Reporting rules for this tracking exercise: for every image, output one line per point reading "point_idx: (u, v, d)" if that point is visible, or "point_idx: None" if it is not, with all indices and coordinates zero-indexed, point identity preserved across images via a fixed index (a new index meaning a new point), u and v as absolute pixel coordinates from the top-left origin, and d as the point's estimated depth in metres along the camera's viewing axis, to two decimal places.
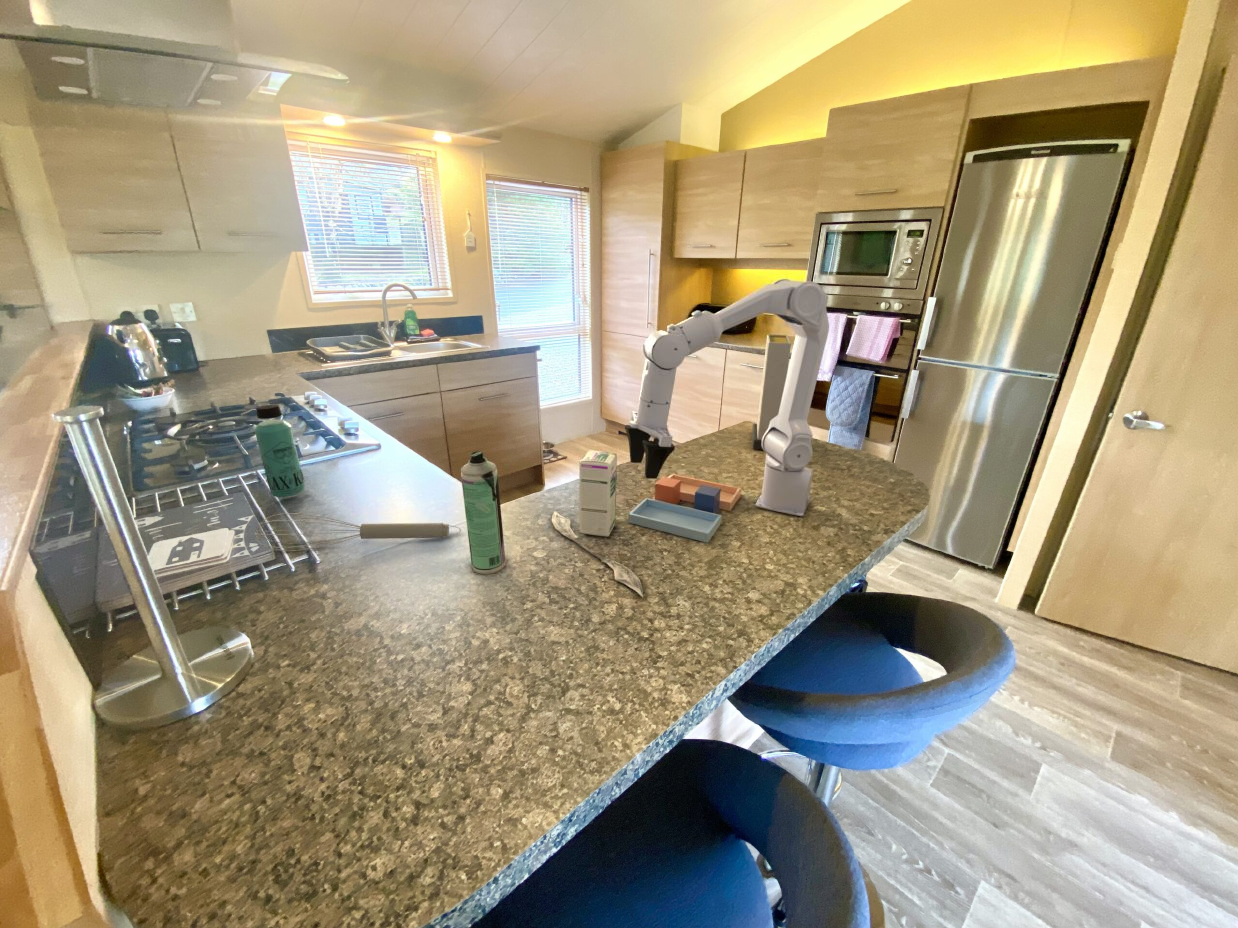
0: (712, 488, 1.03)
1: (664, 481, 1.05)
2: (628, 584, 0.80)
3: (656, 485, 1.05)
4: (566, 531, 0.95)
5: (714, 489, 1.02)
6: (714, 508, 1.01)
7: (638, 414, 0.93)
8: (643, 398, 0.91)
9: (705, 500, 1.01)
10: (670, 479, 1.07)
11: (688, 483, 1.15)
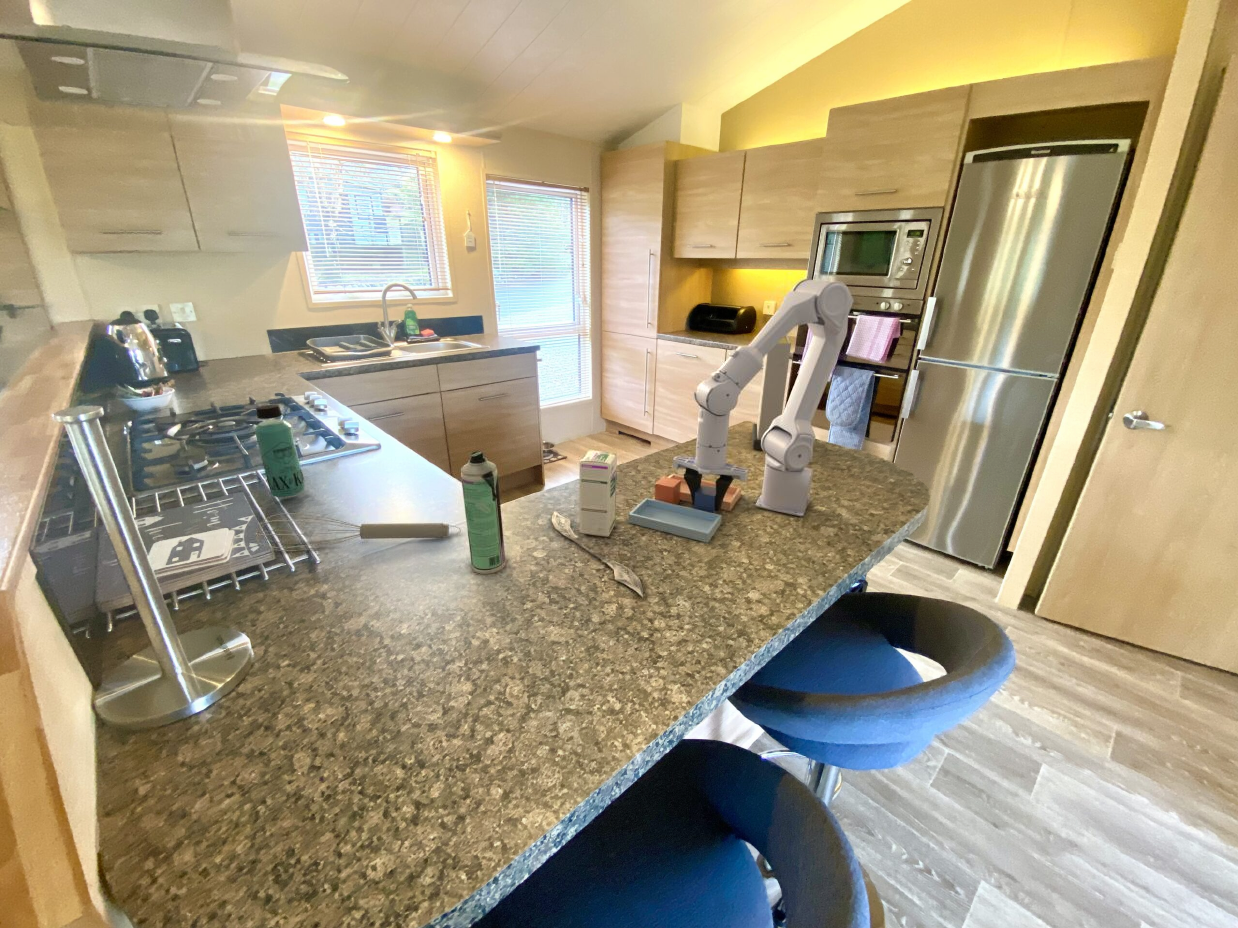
0: (712, 488, 1.03)
1: (664, 481, 1.05)
2: (628, 584, 0.80)
3: (656, 485, 1.05)
4: (566, 531, 0.95)
5: (715, 490, 1.02)
6: (714, 508, 1.01)
7: (706, 461, 0.97)
8: (701, 443, 0.96)
9: (705, 500, 1.01)
10: (670, 479, 1.07)
11: None
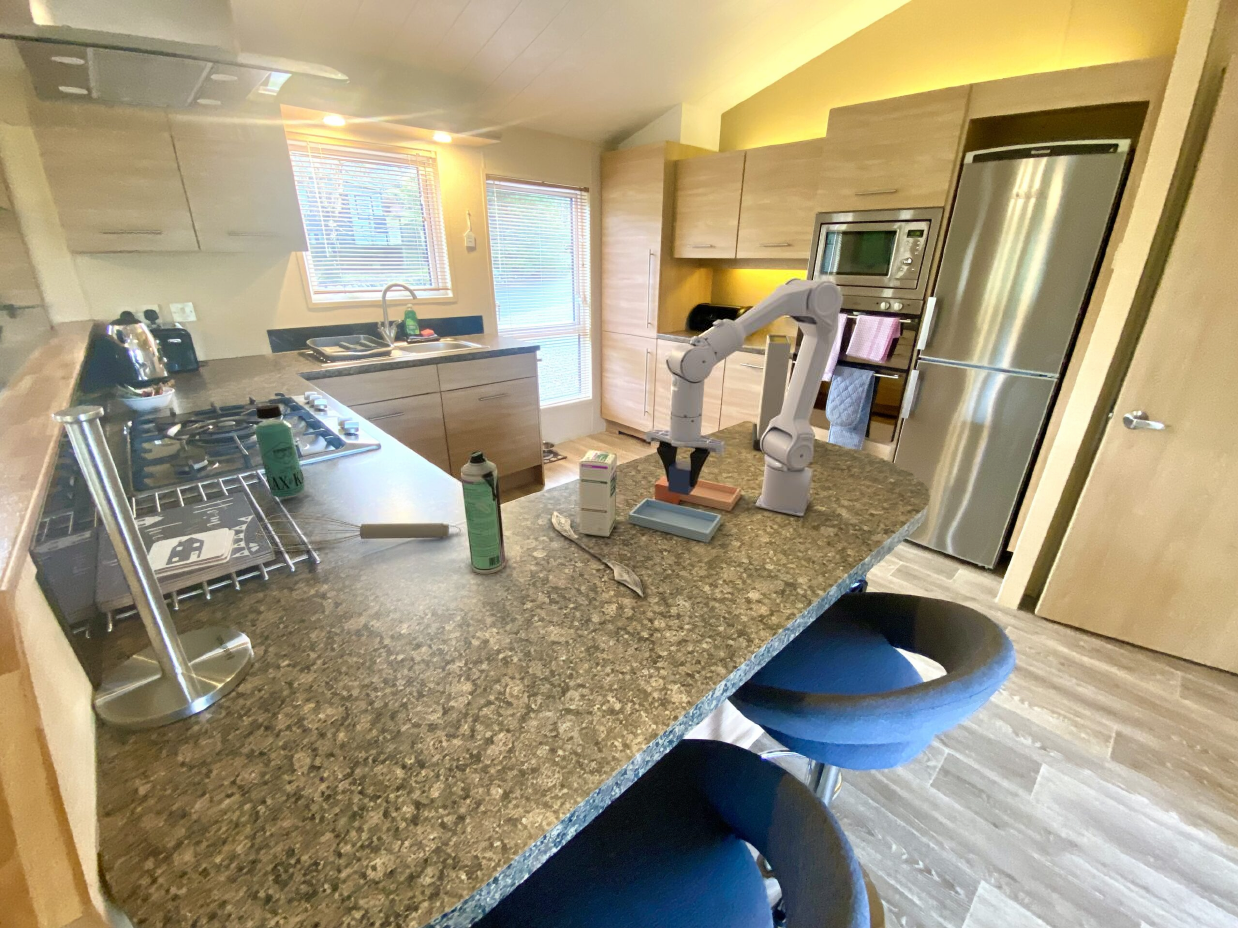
0: (688, 463, 0.97)
1: (664, 481, 1.05)
2: (628, 584, 0.80)
3: (656, 485, 1.05)
4: (566, 531, 0.95)
5: (690, 464, 0.96)
6: (689, 484, 0.95)
7: (679, 432, 0.91)
8: (676, 414, 0.90)
9: (679, 475, 0.94)
10: None
11: None
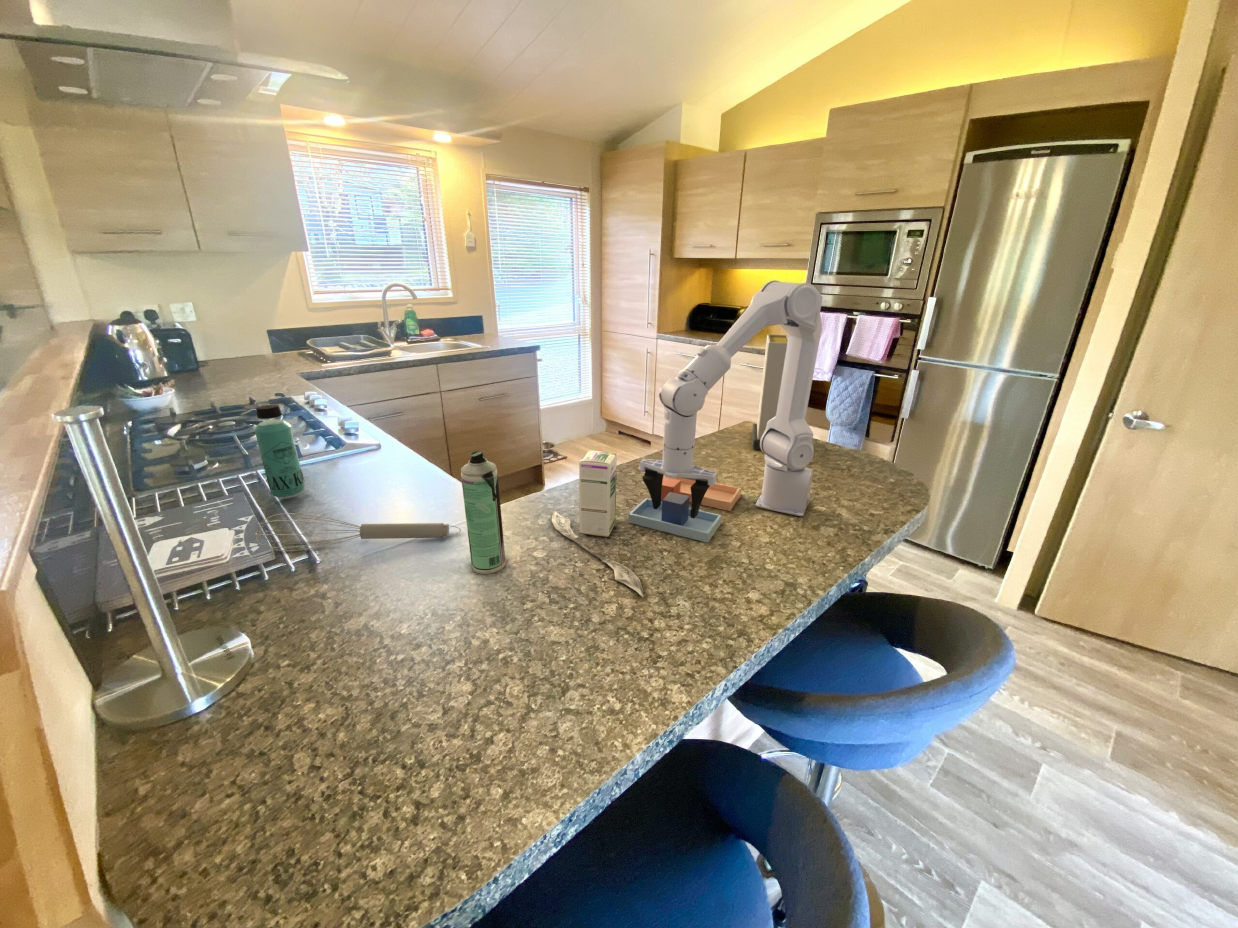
0: (680, 496, 0.98)
1: (664, 481, 1.05)
2: (628, 584, 0.80)
3: None
4: (566, 531, 0.95)
5: (683, 497, 0.98)
6: (682, 517, 0.97)
7: (672, 464, 0.92)
8: (668, 446, 0.91)
9: (672, 508, 0.96)
10: (670, 479, 1.07)
11: (688, 483, 1.15)
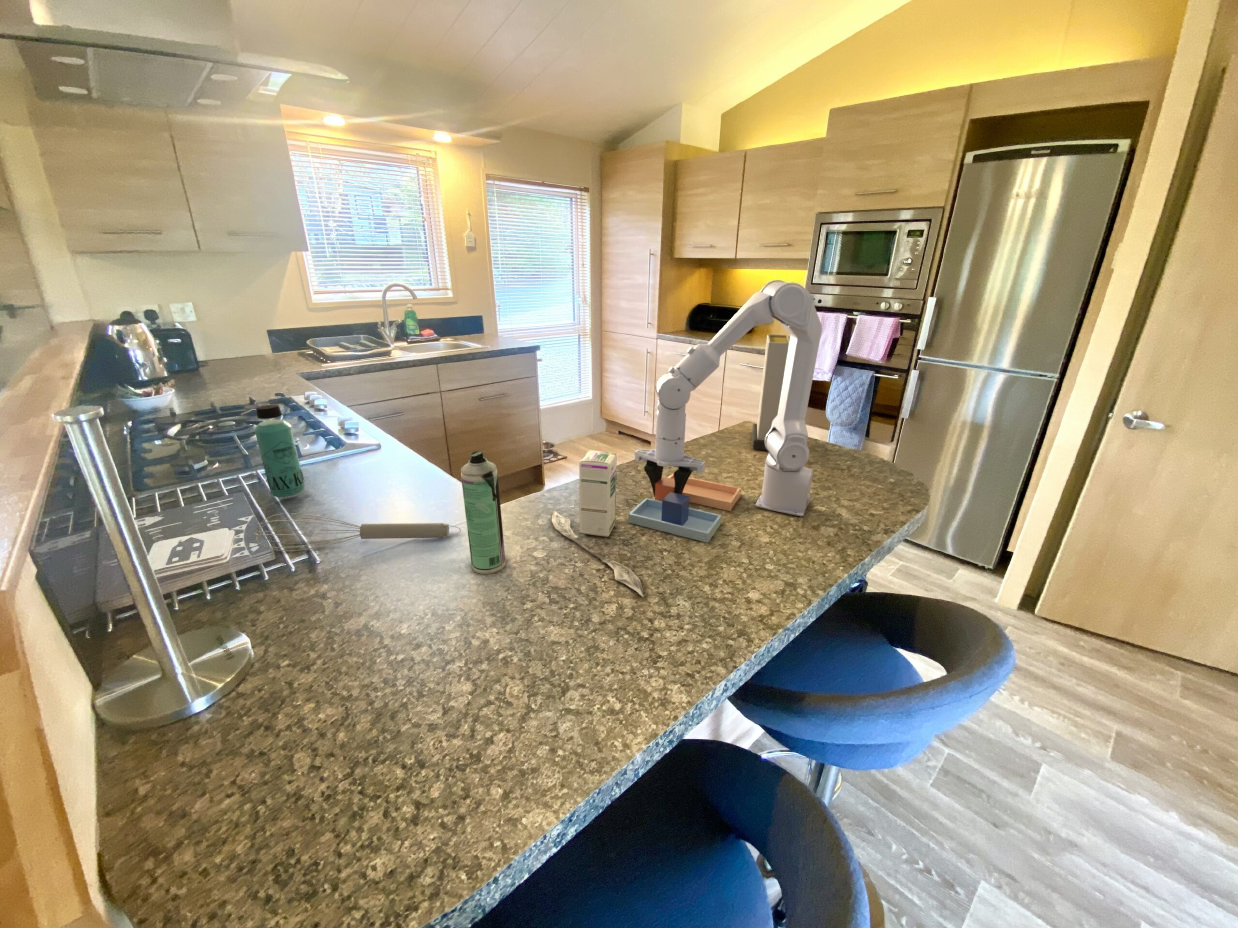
0: (680, 496, 0.98)
1: (664, 481, 1.05)
2: (628, 584, 0.80)
3: (656, 485, 1.05)
4: (566, 531, 0.95)
5: (683, 497, 0.98)
6: (682, 517, 0.97)
7: (664, 453, 1.00)
8: (657, 435, 1.00)
9: (672, 508, 0.96)
10: (670, 479, 1.07)
11: (688, 483, 1.15)
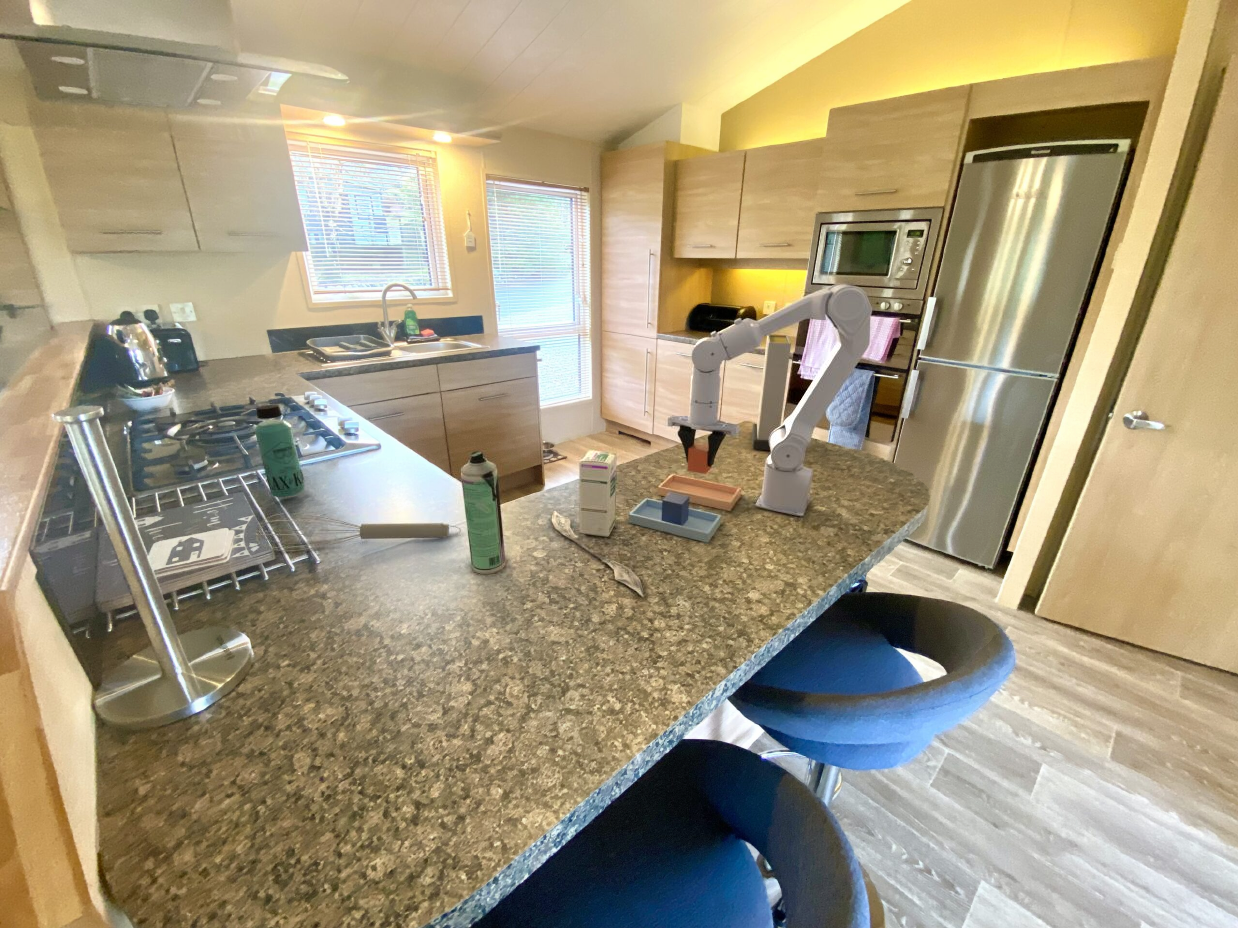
0: (680, 496, 0.98)
1: (697, 446, 1.07)
2: (628, 584, 0.80)
3: (689, 450, 1.06)
4: (566, 531, 0.95)
5: (683, 497, 0.98)
6: (682, 517, 0.97)
7: (699, 417, 1.02)
8: (690, 398, 1.02)
9: (672, 508, 0.96)
10: (703, 444, 1.08)
11: (688, 483, 1.15)
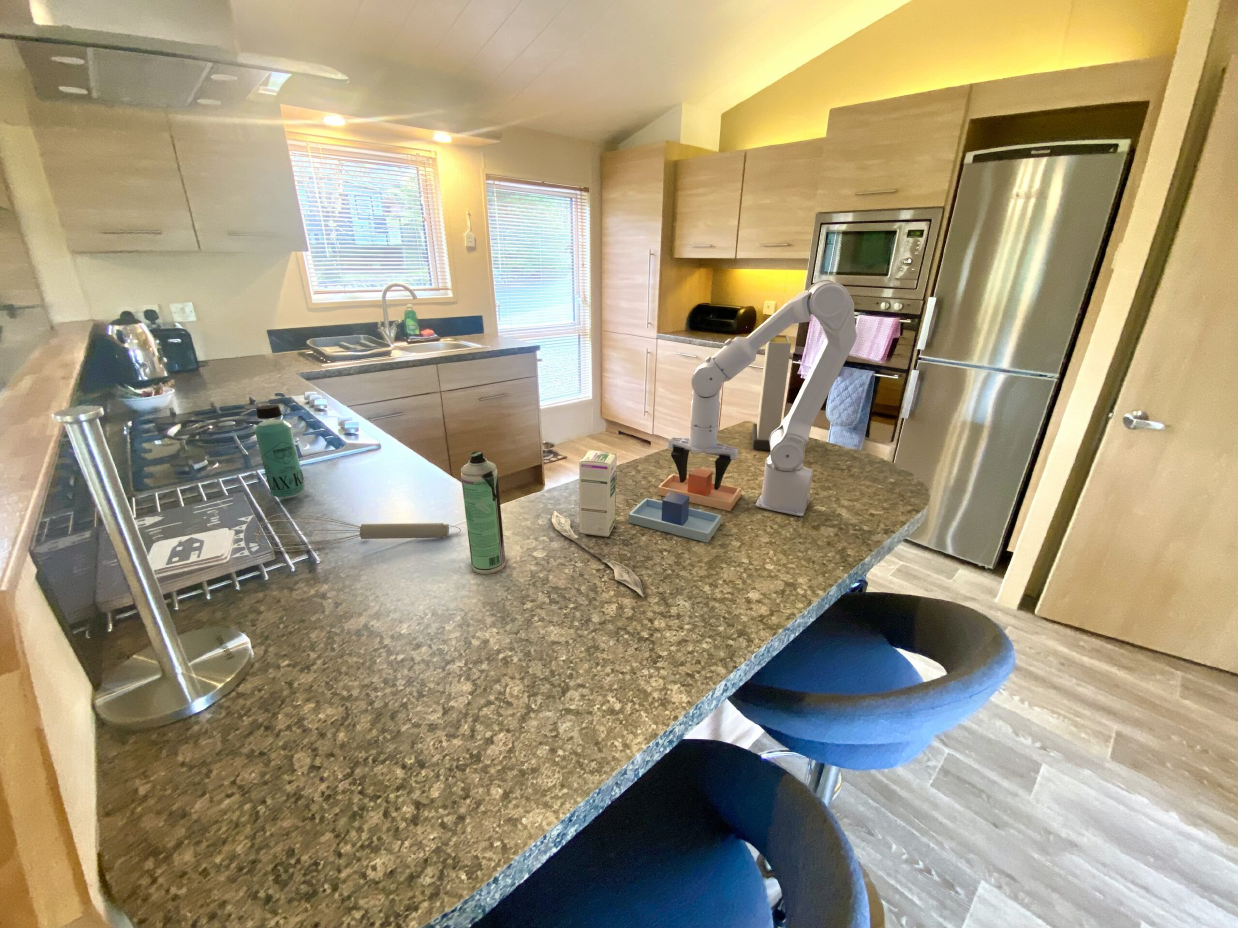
0: (680, 496, 0.98)
1: (697, 472, 1.09)
2: (628, 584, 0.80)
3: (689, 475, 1.08)
4: (566, 531, 0.95)
5: (683, 497, 0.98)
6: (682, 517, 0.97)
7: (699, 440, 1.04)
8: (690, 422, 1.04)
9: (672, 508, 0.96)
10: (702, 470, 1.10)
11: None
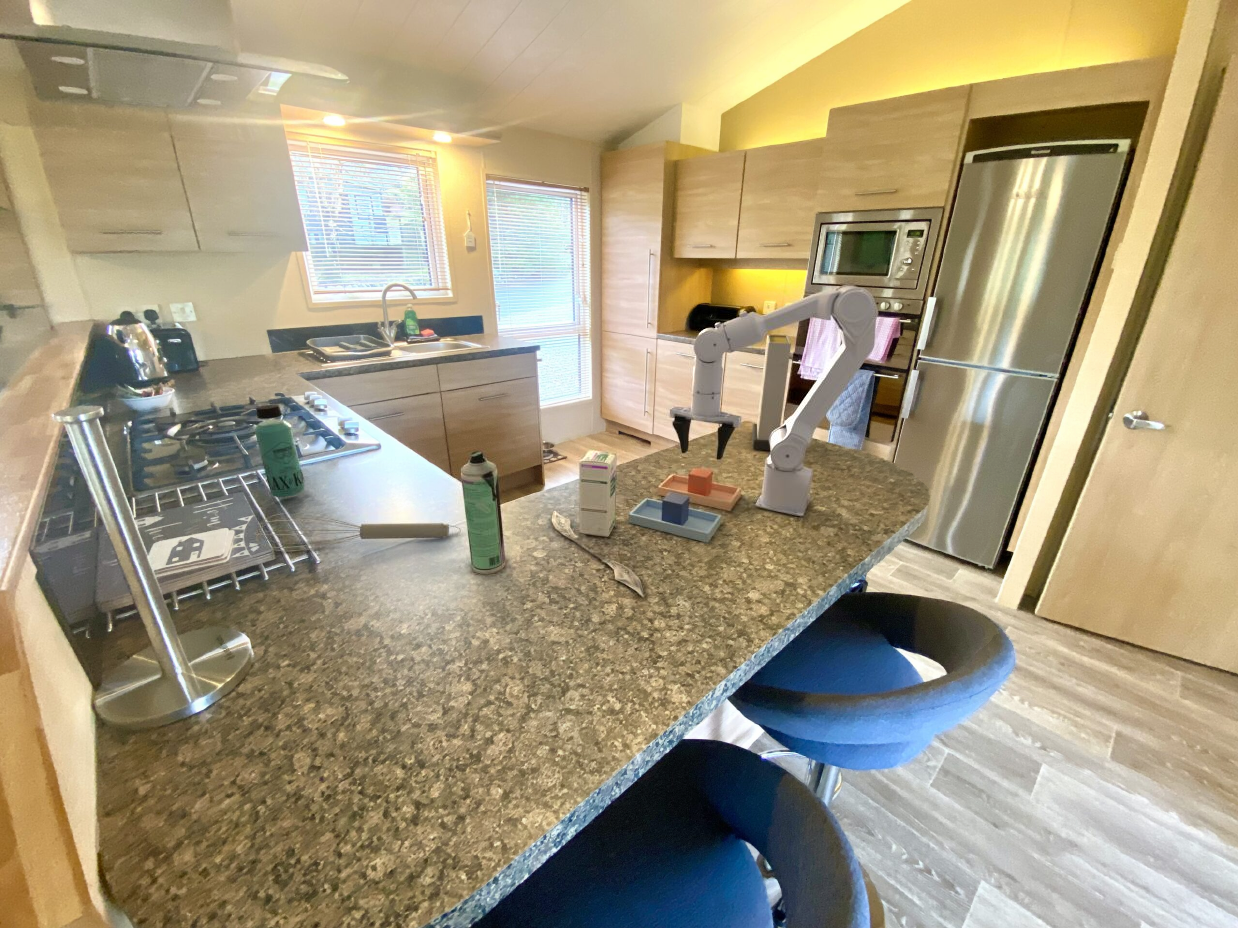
0: (680, 496, 0.98)
1: (697, 472, 1.09)
2: (628, 584, 0.80)
3: (689, 475, 1.08)
4: (566, 531, 0.95)
5: (683, 497, 0.98)
6: (682, 517, 0.97)
7: (701, 408, 1.01)
8: (693, 389, 1.02)
9: (672, 508, 0.96)
10: (702, 470, 1.10)
11: None
